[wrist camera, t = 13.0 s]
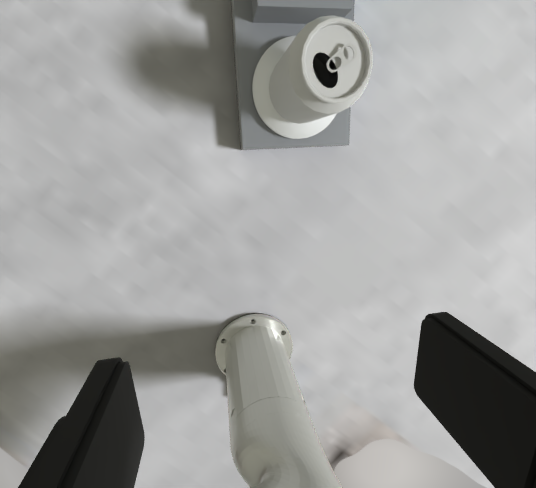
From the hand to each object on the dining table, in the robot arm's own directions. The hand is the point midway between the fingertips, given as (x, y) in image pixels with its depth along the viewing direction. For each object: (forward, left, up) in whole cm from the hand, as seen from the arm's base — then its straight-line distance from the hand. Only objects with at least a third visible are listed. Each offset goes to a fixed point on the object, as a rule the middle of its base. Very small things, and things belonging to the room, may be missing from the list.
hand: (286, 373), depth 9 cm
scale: (+16, -9, -34) cm, 39 cm away
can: (+13, -9, -31) cm, 34 cm away
